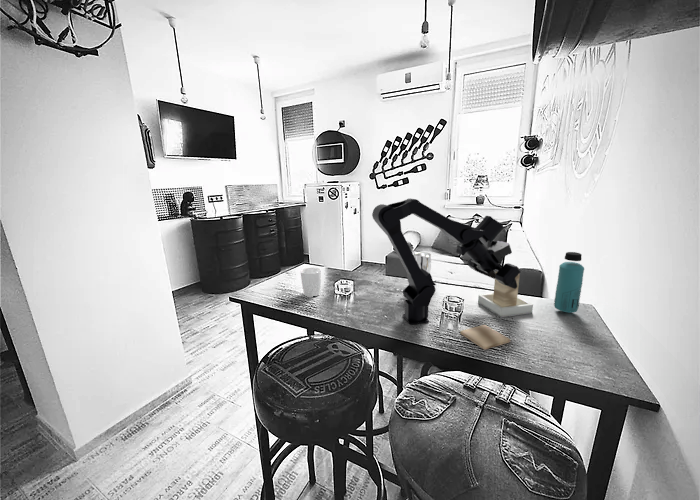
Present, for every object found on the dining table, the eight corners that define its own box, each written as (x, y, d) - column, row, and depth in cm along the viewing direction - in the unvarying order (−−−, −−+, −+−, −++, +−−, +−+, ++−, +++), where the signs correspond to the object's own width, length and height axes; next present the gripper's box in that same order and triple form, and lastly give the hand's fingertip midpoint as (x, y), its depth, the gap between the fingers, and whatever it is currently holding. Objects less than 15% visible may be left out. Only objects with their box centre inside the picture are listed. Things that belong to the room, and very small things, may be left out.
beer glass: (430, 294, 112) (432, 256, 108) (412, 293, 113) (413, 256, 110) (429, 287, 118) (430, 252, 115) (412, 286, 120) (413, 251, 116)
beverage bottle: (570, 319, 89) (580, 256, 84) (548, 310, 95) (556, 252, 90) (581, 314, 92) (592, 253, 87) (559, 306, 98) (568, 249, 93)
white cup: (326, 292, 117) (324, 269, 114) (313, 299, 110) (311, 274, 108) (311, 289, 121) (309, 266, 119) (298, 295, 115) (296, 272, 112)
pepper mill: (502, 310, 95) (506, 272, 92) (492, 303, 100) (495, 267, 97) (515, 308, 96) (520, 270, 93) (505, 302, 101) (509, 266, 98)
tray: (500, 317, 92) (501, 308, 91) (477, 302, 103) (478, 294, 102) (532, 313, 94) (533, 304, 93) (506, 299, 105) (507, 291, 104)
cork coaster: (484, 349, 75) (484, 347, 75) (460, 333, 83) (460, 330, 83) (510, 342, 78) (510, 339, 78) (484, 326, 86) (484, 324, 86)
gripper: (518, 240, 82) (546, 273, 87) (478, 229, 100) (503, 257, 105) (491, 268, 83) (520, 300, 87) (456, 253, 101) (481, 280, 105)
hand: (505, 282), depth 96 cm, fingers open, 9 cm apart
